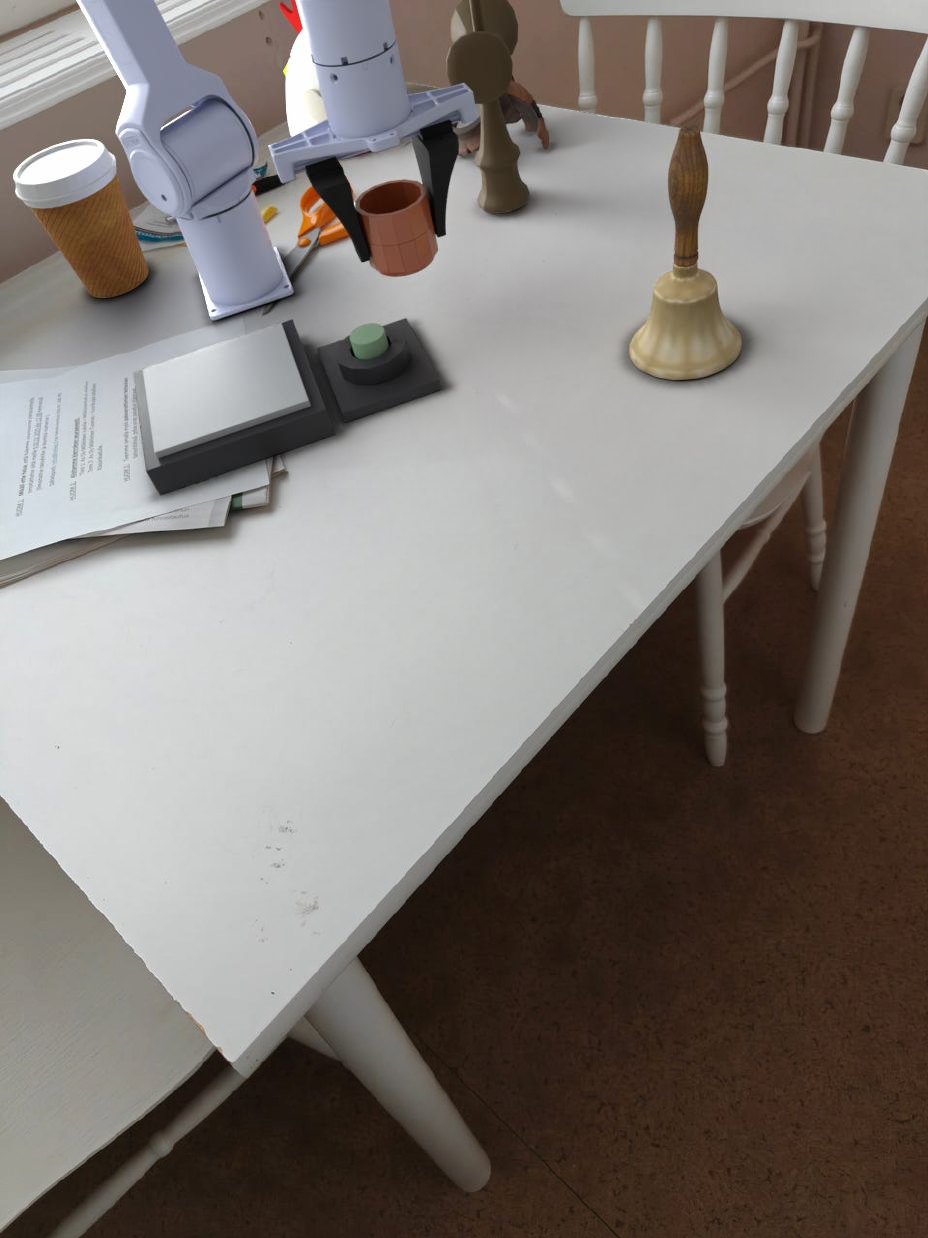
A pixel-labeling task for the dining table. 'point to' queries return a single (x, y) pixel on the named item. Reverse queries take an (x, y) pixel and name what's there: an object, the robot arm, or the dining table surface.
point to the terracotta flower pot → (397, 227)
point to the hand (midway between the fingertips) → (400, 243)
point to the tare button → (369, 341)
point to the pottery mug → (507, 119)
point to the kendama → (489, 94)
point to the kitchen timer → (301, 81)
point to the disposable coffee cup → (84, 214)
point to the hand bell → (686, 285)
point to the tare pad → (378, 373)
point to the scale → (228, 406)
